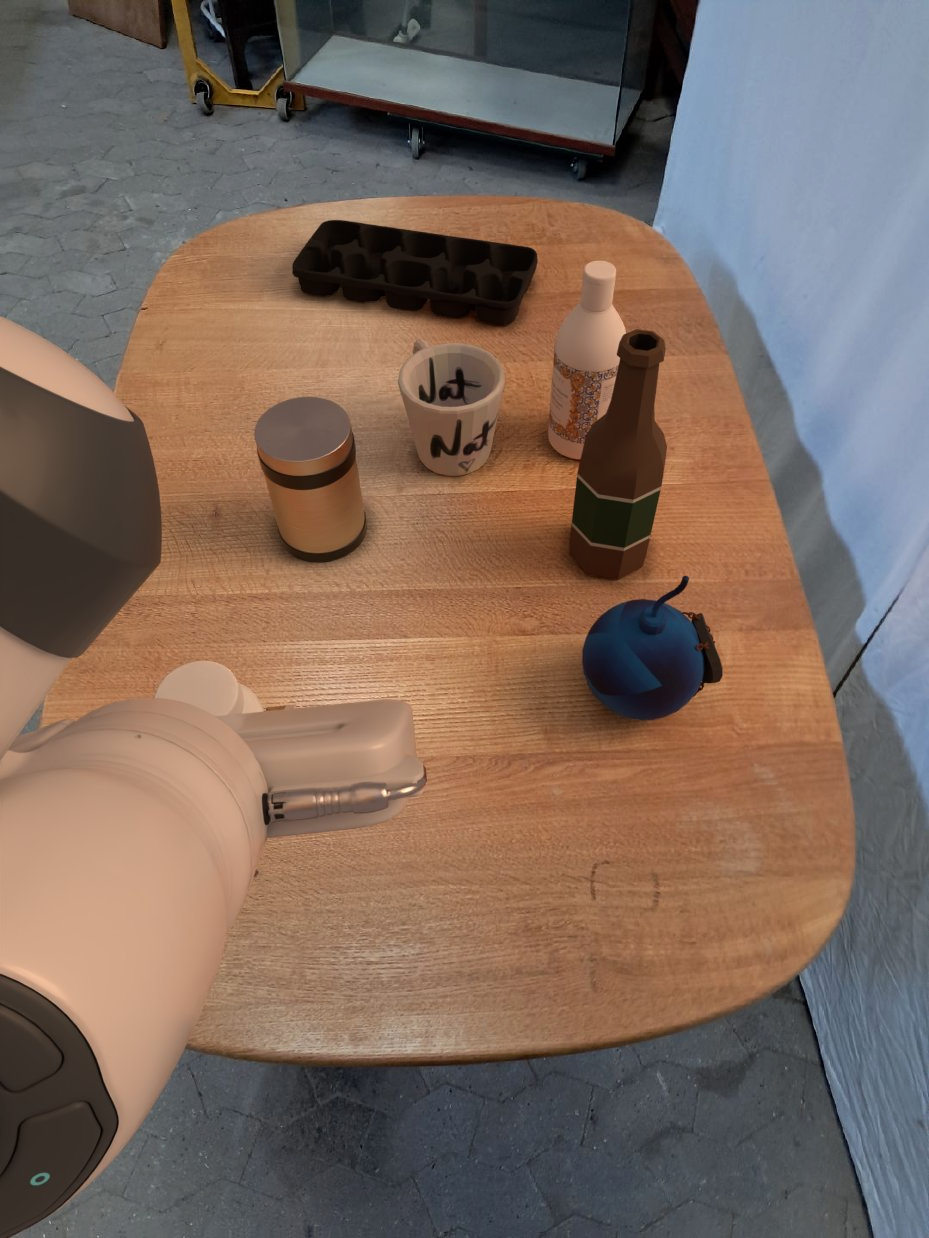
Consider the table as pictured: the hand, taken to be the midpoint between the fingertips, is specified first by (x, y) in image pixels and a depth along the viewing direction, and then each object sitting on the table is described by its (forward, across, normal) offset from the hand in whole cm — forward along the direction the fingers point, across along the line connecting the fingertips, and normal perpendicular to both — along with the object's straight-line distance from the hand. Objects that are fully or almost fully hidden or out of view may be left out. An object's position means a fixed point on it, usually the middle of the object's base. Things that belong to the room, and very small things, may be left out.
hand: (216, 727), depth 46 cm
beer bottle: (+40, -30, -4) cm, 50 cm away
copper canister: (+45, -3, -8) cm, 45 cm away
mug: (+53, -16, -16) cm, 57 cm away
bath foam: (+51, -30, -15) cm, 61 cm away
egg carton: (+73, -15, -36) cm, 83 cm away
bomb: (+29, -29, +8) cm, 42 cm away
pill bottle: (+4, 0, +4) cm, 6 cm away
